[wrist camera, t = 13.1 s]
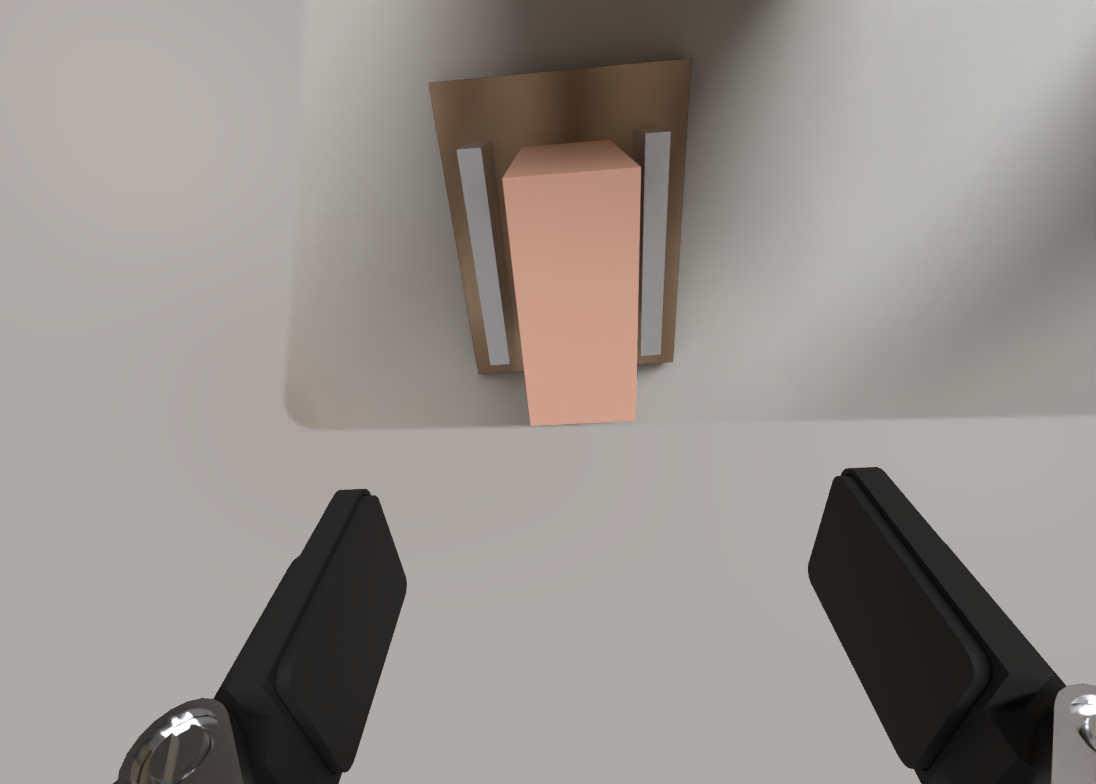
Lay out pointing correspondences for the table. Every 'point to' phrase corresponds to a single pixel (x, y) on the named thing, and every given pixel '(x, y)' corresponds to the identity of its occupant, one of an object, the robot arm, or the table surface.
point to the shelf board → (556, 118)
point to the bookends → (490, 250)
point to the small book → (576, 279)
